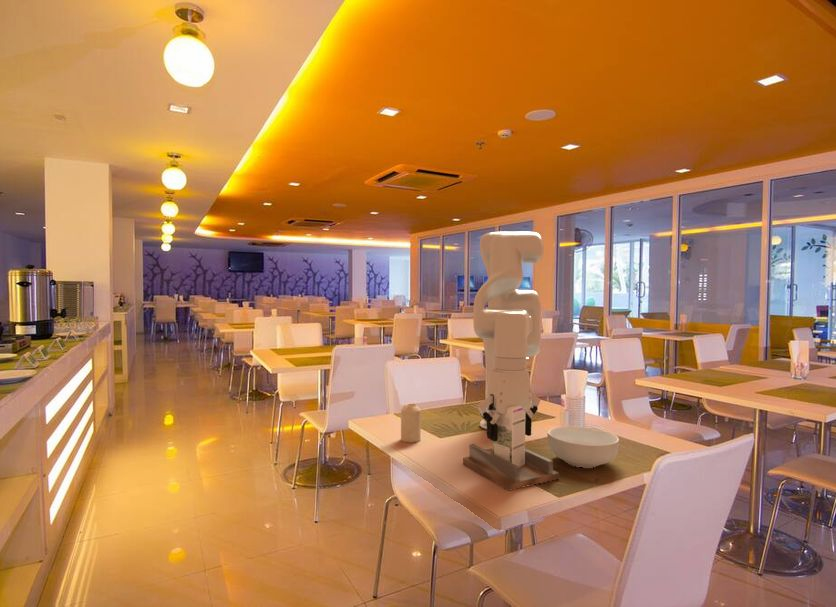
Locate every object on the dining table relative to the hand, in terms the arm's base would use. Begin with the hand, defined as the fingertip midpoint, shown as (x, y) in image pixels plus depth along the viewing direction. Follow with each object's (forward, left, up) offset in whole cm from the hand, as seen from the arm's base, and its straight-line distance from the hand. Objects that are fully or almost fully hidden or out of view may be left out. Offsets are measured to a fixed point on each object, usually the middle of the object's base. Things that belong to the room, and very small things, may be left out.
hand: (509, 437), depth 117 cm
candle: (+10, -32, -8) cm, 35 cm away
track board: (0, 0, -8) cm, 8 cm away
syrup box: (0, 0, -7) cm, 7 cm away
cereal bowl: (-20, +3, -8) cm, 22 cm away
